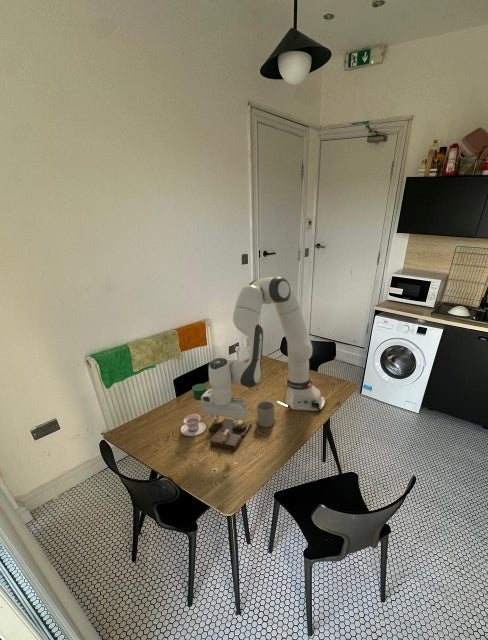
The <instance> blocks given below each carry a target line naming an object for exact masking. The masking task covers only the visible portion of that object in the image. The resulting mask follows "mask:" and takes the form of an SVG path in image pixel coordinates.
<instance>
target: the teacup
mask: <svg viewBox="0 0 488 640" xmlns="http://www.w3.org/2000/svg"><path fill="white" fill-rule="evenodd" d="M183 423H184V424H183V425H182V426H181V428H180V433H181V435H183V436H185V437H196V436H199V435H202V434H203V433H204V432H205V431H206V429H207V426H206V424H205V423H204V422H202V421H201V416H200V414H197V413H193V414H192V413H191V414H188V415H187V416H185V417H184V418H183Z"/></svg>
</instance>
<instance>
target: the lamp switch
mask: <svg viewBox="0 0 488 640" xmlns="http://www.w3.org/2000/svg"><path fill="white" fill-rule="evenodd" d="M243 421H244V420H242V419H239V420H238V424H237V427H242V426H243Z"/></svg>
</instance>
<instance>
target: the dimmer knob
mask: <svg viewBox="0 0 488 640" xmlns="http://www.w3.org/2000/svg"><path fill="white" fill-rule="evenodd" d="M229 435H230V432H229V430H227V429H226V430H225V432H224V433H223V434H222V441H226V440H227V438H228V437H229Z"/></svg>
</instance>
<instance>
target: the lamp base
mask: <svg viewBox="0 0 488 640" xmlns="http://www.w3.org/2000/svg"><path fill="white" fill-rule="evenodd" d="M234 420H235V419H232V418H227V417H224V421H223V422H222V423H220V424H214V423H212V424H211V425H210V426H209V427H208V431H209V432H213V433H217V431H222V432H225V430H226V429H227V430H229V432H230V433H232V434H237V435H242V439H243V438H245V436H246V435H247V433H248V432H249V430H250V429H251V428H252V422H247V421H244V420H242V421H243V426H242V427H237V426H234V425H233V422H234Z"/></svg>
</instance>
